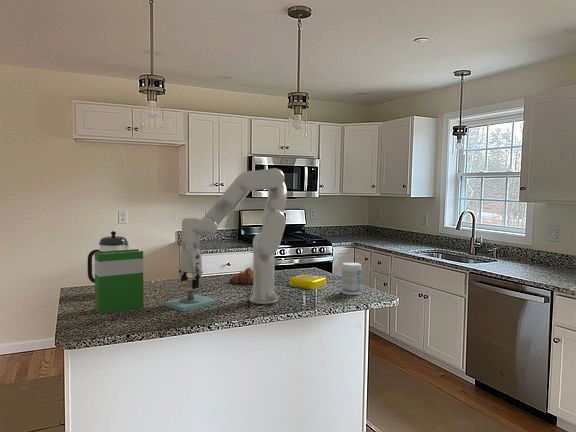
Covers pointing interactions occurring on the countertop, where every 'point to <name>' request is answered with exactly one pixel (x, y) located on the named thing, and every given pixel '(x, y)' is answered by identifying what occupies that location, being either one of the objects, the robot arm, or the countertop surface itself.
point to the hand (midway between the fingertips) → (189, 286)
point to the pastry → (243, 277)
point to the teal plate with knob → (190, 302)
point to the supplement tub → (351, 278)
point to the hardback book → (118, 280)
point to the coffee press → (107, 249)
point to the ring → (187, 285)
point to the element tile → (307, 281)
